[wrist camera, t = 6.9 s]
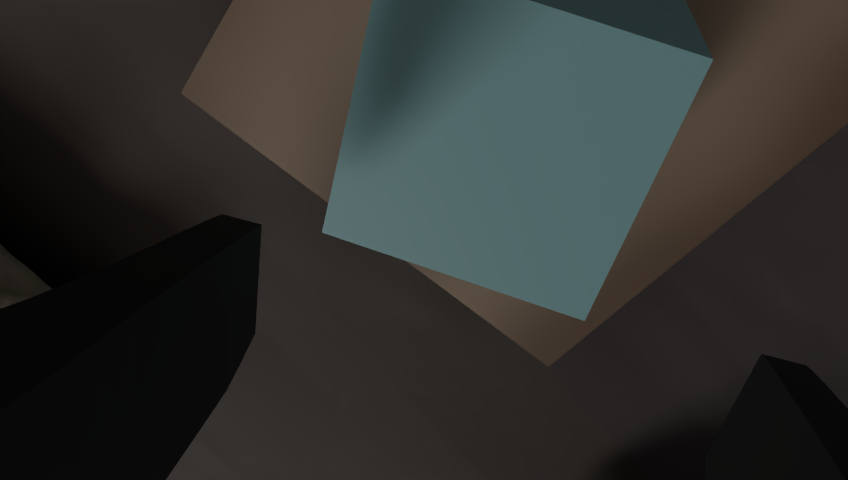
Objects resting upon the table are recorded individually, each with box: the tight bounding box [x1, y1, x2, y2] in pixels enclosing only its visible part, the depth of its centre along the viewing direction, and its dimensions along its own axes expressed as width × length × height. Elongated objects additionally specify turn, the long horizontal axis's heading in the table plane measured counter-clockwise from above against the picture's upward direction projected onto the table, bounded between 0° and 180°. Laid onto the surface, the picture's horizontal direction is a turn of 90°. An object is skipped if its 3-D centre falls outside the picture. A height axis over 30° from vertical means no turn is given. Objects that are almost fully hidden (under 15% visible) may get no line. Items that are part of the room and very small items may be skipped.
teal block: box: [322, 0, 713, 321], centre depth 14 cm, size 5×5×5 cm
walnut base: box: [181, 0, 848, 367], centre depth 17 cm, size 12×12×2 cm
